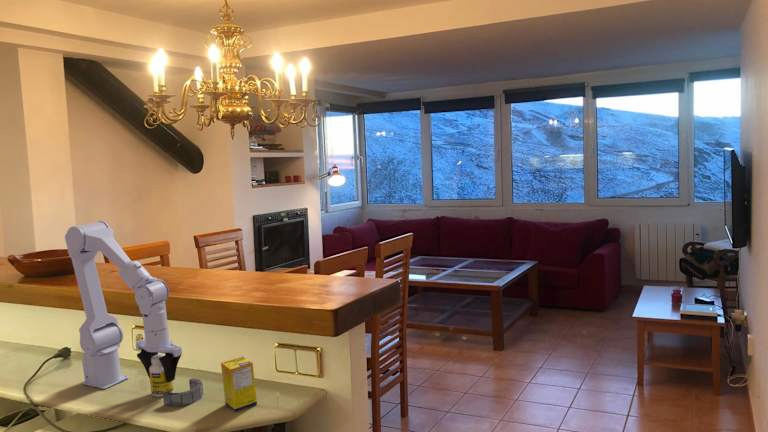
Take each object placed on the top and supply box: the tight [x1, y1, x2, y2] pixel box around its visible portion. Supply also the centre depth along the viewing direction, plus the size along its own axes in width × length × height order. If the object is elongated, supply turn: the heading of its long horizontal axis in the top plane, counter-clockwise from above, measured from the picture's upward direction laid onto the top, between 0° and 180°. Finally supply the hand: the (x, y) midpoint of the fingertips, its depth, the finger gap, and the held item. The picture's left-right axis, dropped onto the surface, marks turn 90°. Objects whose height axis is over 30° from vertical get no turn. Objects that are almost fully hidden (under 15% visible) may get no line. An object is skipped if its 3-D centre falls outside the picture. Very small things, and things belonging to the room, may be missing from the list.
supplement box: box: [220, 356, 258, 413], centre depth 152 cm, size 6×6×11 cm
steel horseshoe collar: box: [162, 377, 204, 408], centre depth 158 cm, size 6×10×3 cm, turn 151°
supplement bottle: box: [149, 353, 174, 398], centre depth 162 cm, size 5×5×10 cm
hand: (162, 379), depth 162 cm, fingers open, 6 cm apart
